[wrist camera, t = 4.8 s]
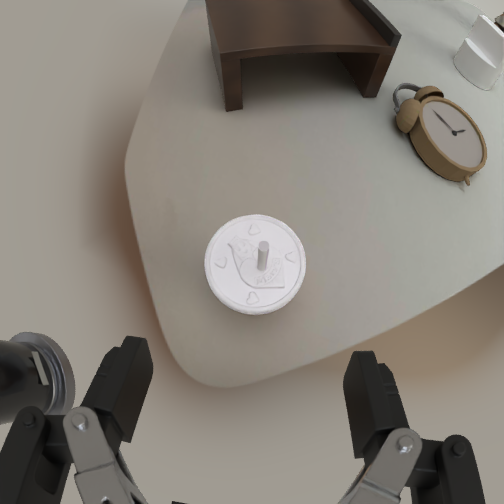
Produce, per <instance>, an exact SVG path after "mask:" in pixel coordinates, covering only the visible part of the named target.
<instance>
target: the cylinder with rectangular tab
mask: <svg viewBox="0 0 504 504" xmlns="http://www.w3.org/2000/svg"><path fill="white" fill-rule="evenodd" d="M454 64H455V66H456V68H457V69H458V71H459V72H460V73H461V74H462V75H463V76H464V77H465V78H466V79H467V80H468V81H470V82H471V83H472V84H474V85H475V86H477V87H479V88H481V89H483V90H490V89H491V88H492V87H493V85H494V84H495V82H496V81H497V80H498V78H499V77H500V75H501V74H502V73H503V71H504V33H503V32H502V31H501V30H500V29H499V28H498V27H497V26H496V25H495V24H494V23H493V22H492V21H491V20H490V19H489V18H488V17H485V16H483V15H479V16H478V18H477V19H476V21H475V23H474V25H473V27H472V29H471V31H470V33H469V34H468V36H467V37H466V38H465V40H464V42H463V44H462V46H461V47H460V49H459V51H458V53H457V55H456V56H455V58H454Z"/></svg>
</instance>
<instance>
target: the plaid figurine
mask: <svg viewBox="0 0 504 504" xmlns="http://www.w3.org/2000/svg"><path fill="white" fill-rule="evenodd" d="M495 21H496V22H495V23H494V24H495V25H496V26H497V27H498V28H499V29H500V30H501V31H502V32H503V33H504V12H503V14H502V15H500V16H498V17H497V18H495Z"/></svg>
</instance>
